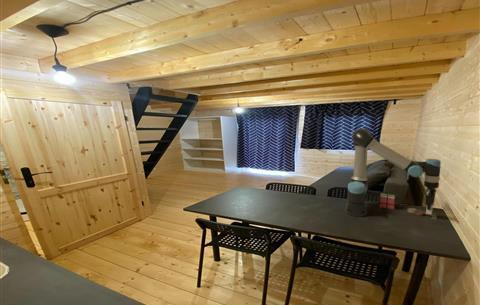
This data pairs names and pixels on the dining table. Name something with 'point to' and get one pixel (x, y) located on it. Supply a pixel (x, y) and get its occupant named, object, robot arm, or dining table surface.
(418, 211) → the dial
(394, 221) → the dining table surface
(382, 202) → the puzzle cube
